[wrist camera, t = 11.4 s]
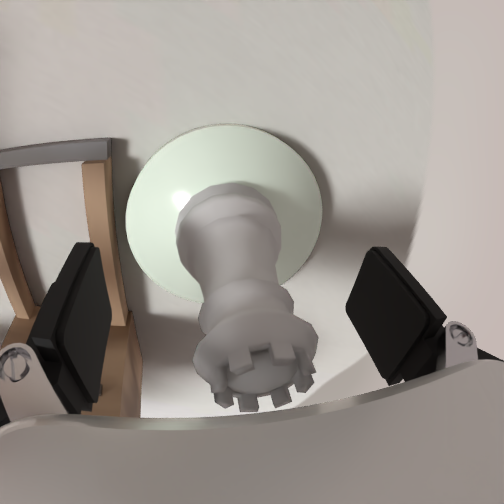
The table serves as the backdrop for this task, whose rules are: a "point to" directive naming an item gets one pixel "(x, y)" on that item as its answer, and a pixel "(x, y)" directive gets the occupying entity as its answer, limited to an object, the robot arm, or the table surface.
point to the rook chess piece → (243, 299)
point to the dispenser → (104, 237)
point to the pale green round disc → (214, 173)
